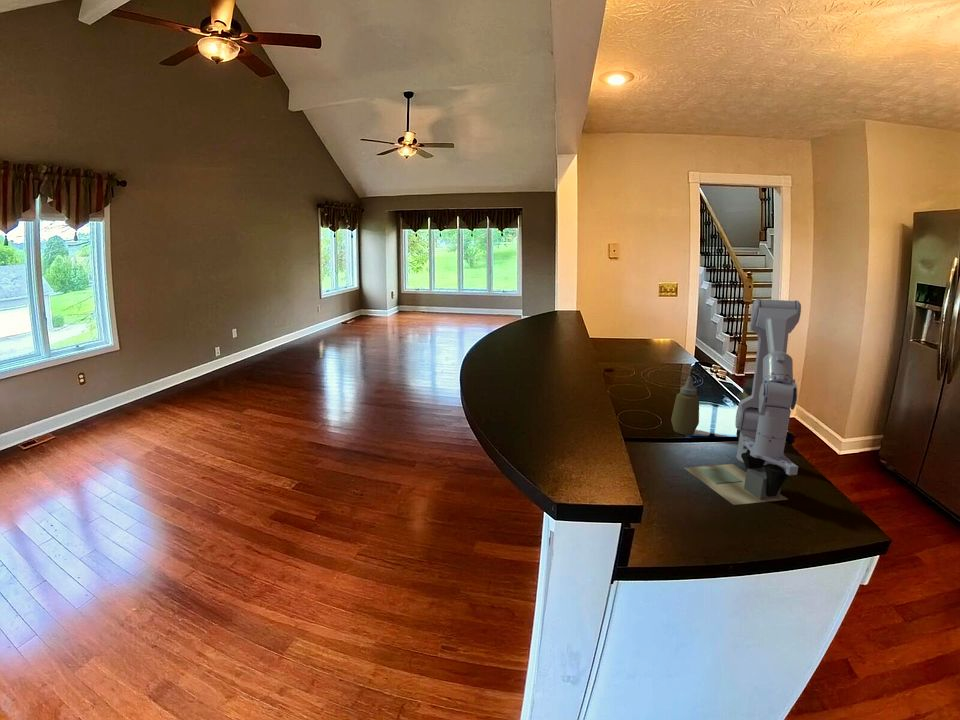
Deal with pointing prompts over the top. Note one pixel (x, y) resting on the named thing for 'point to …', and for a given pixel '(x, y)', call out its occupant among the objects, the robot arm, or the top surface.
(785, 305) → the robot arm
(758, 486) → the grey matte cube
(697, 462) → the top surface
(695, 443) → the top surface
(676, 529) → the top surface
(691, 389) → the squeeze bottle
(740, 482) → the board
